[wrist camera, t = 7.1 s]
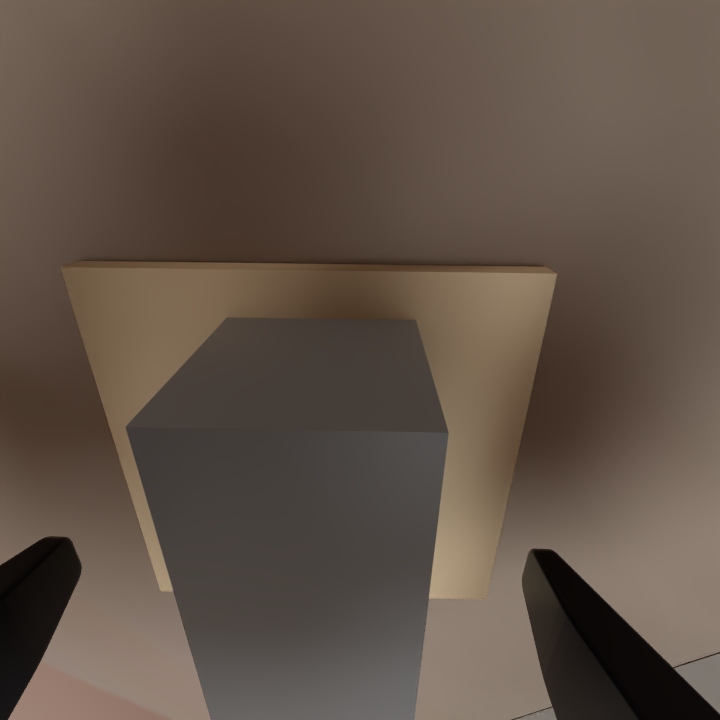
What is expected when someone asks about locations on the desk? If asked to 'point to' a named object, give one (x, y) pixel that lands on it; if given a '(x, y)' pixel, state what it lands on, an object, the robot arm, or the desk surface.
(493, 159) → the desk surface
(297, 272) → the coaster
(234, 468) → the plug
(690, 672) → the hinge
